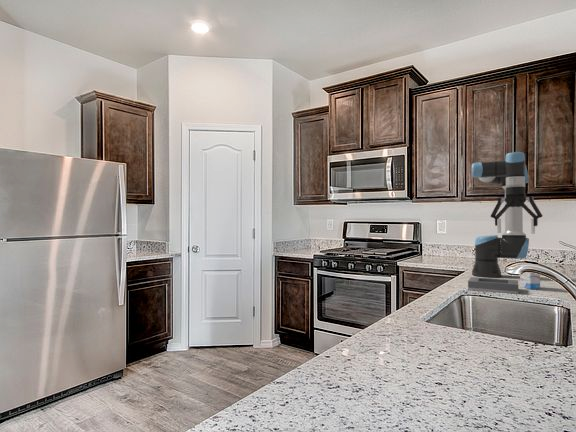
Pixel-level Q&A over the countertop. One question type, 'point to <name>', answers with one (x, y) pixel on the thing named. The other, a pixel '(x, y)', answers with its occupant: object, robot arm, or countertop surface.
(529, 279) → the ink box
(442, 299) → the countertop surface
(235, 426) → the countertop surface
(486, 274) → the robot arm
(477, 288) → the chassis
